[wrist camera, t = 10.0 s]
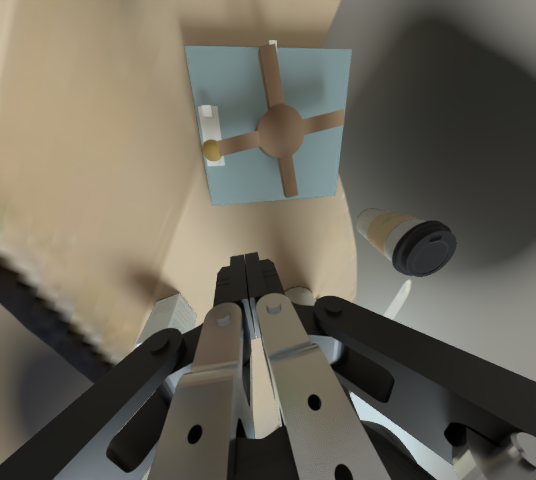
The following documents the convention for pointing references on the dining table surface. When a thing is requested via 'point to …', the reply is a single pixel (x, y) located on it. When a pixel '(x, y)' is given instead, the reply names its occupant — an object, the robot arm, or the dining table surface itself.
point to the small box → (169, 317)
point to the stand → (253, 109)
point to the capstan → (275, 126)
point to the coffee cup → (408, 241)
